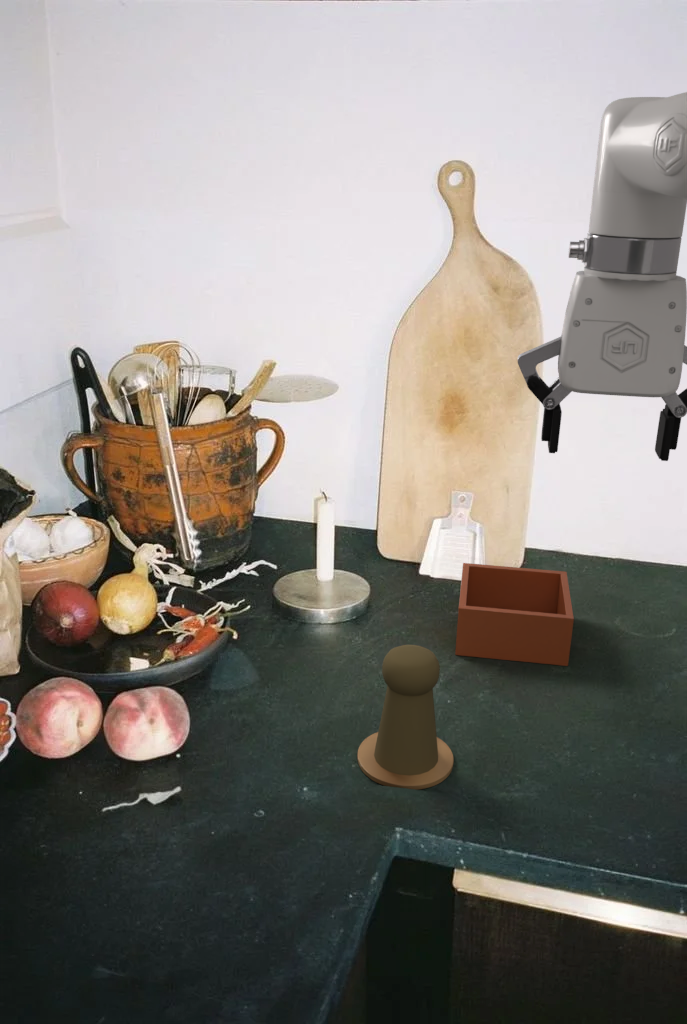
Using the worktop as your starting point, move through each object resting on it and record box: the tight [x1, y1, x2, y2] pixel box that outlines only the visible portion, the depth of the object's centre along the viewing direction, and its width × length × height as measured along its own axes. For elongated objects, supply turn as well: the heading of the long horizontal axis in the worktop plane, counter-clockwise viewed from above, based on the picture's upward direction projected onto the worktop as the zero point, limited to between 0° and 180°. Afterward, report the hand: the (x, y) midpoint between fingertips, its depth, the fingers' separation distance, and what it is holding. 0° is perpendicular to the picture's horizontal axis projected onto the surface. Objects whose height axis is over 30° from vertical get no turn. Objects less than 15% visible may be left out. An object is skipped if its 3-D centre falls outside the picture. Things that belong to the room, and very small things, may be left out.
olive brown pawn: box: [374, 644, 441, 775], centre depth 86 cm, size 6×6×11 cm
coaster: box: [356, 731, 454, 791], centre depth 88 cm, size 9×9×1 cm
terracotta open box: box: [454, 562, 575, 667], centre depth 110 cm, size 13×13×6 cm
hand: (606, 452), depth 85 cm, fingers open, 9 cm apart
